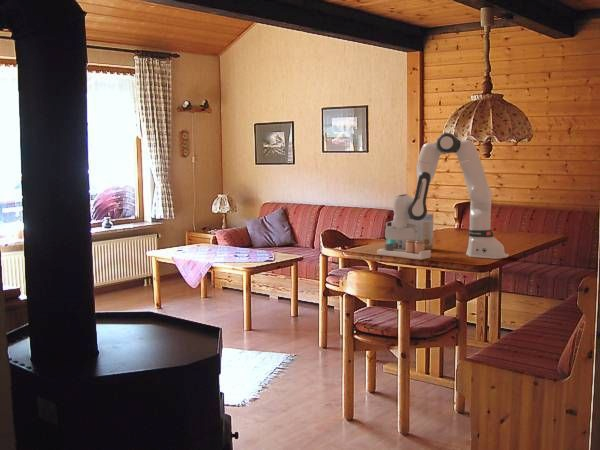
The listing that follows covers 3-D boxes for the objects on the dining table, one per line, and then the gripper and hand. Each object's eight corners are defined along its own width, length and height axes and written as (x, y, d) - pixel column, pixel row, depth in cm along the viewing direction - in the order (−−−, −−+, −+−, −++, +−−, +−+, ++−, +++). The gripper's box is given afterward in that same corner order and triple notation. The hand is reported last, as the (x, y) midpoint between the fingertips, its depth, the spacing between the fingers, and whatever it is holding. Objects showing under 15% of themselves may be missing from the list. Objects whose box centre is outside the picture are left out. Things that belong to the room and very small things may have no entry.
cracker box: (433, 248, 410) (433, 212, 408) (431, 250, 405) (432, 213, 402) (409, 247, 415) (409, 212, 413) (407, 249, 409) (407, 213, 407)
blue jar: (407, 250, 402) (407, 235, 401) (402, 251, 399) (402, 236, 398) (399, 250, 406) (399, 234, 405) (394, 251, 402) (394, 235, 401)
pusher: (398, 252, 396) (398, 242, 395) (387, 254, 388) (387, 244, 387) (395, 251, 397) (395, 241, 397) (384, 254, 389) (384, 244, 389)
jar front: (426, 257, 378) (426, 241, 377) (420, 258, 374) (420, 242, 373) (417, 256, 381) (418, 240, 380) (412, 257, 377) (412, 241, 376)
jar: (417, 256, 381) (417, 240, 380) (411, 257, 378) (411, 241, 377) (409, 255, 385) (409, 239, 384) (403, 256, 381) (403, 240, 380)
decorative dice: (399, 246, 419) (399, 233, 419) (403, 248, 412) (403, 235, 411) (386, 247, 418) (386, 233, 417) (390, 249, 410) (390, 235, 410)
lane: (430, 257, 378) (430, 250, 378) (421, 259, 371) (421, 252, 371) (387, 252, 398) (387, 245, 397) (377, 254, 391) (377, 247, 390)
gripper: (420, 224, 387) (420, 249, 388) (389, 221, 401) (390, 246, 402) (413, 225, 382) (413, 250, 384) (383, 222, 396) (383, 247, 398)
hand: (401, 248), depth 393 cm, fingers closed
